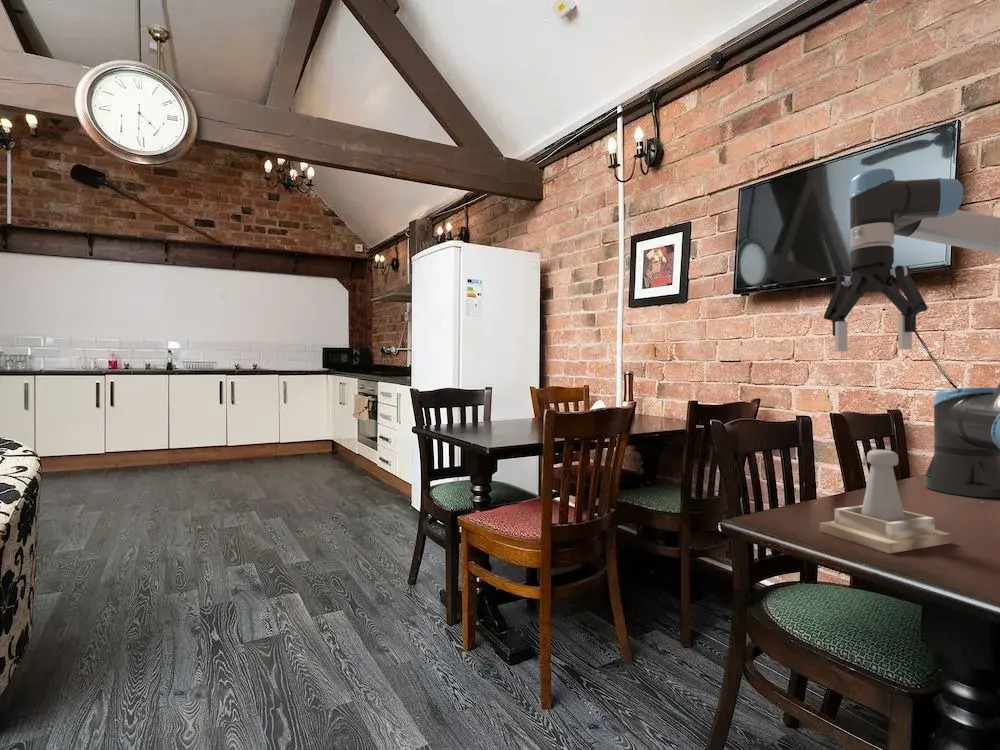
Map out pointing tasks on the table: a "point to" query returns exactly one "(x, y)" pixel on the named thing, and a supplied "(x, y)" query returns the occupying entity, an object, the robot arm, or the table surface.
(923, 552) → the table surface
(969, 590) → the table surface
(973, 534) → the table surface
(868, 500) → the salt shaker
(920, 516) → the tray
